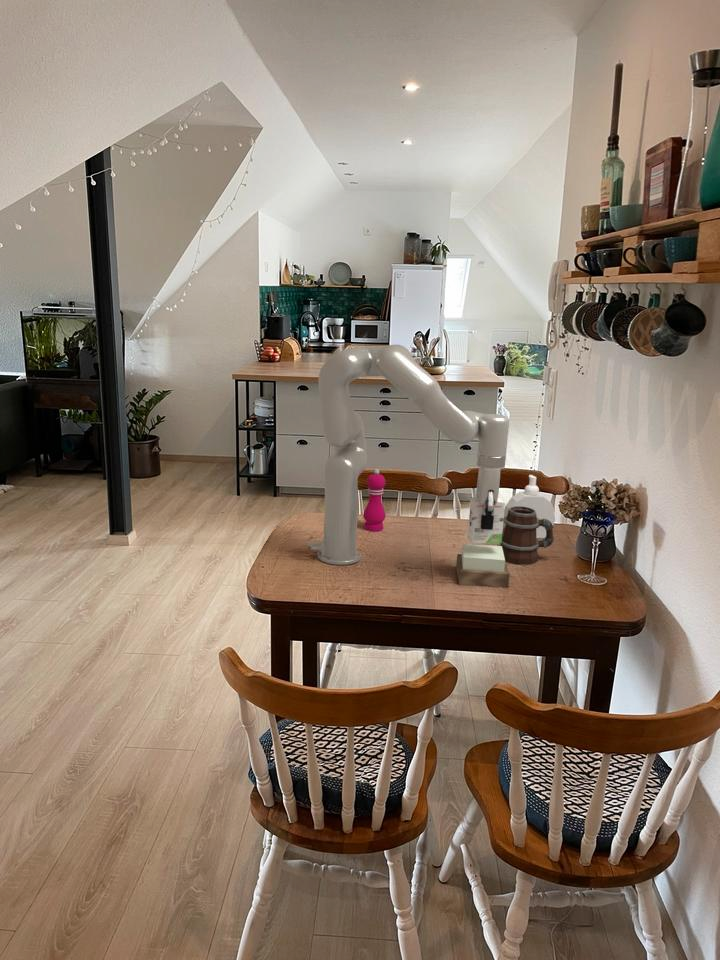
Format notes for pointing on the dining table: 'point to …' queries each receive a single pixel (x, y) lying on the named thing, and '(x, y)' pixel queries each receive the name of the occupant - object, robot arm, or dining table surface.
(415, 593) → the dining table surface
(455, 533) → the dining table surface
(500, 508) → the ink box
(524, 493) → the soap bottle
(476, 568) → the tower top
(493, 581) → the tower base
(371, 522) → the pepper mill
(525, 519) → the mug
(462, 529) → the dining table surface
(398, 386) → the robot arm
